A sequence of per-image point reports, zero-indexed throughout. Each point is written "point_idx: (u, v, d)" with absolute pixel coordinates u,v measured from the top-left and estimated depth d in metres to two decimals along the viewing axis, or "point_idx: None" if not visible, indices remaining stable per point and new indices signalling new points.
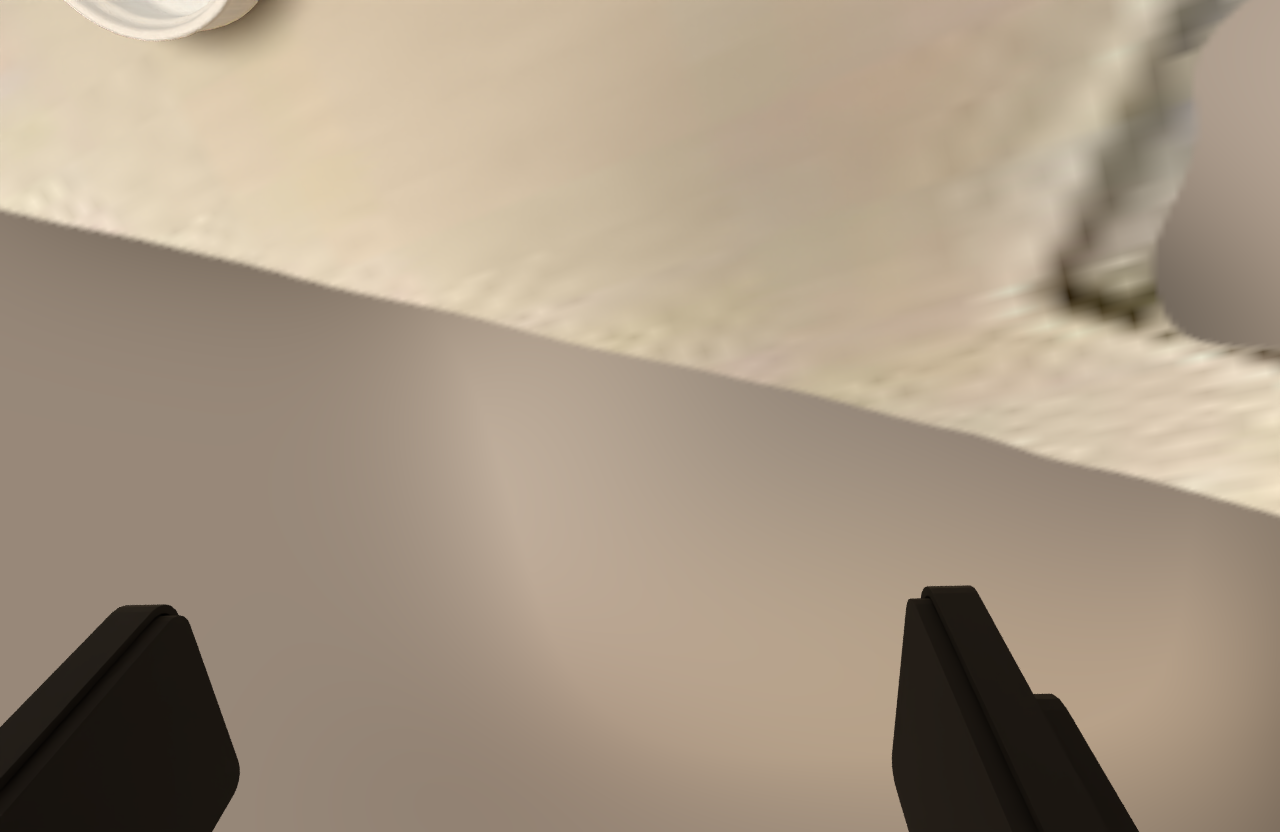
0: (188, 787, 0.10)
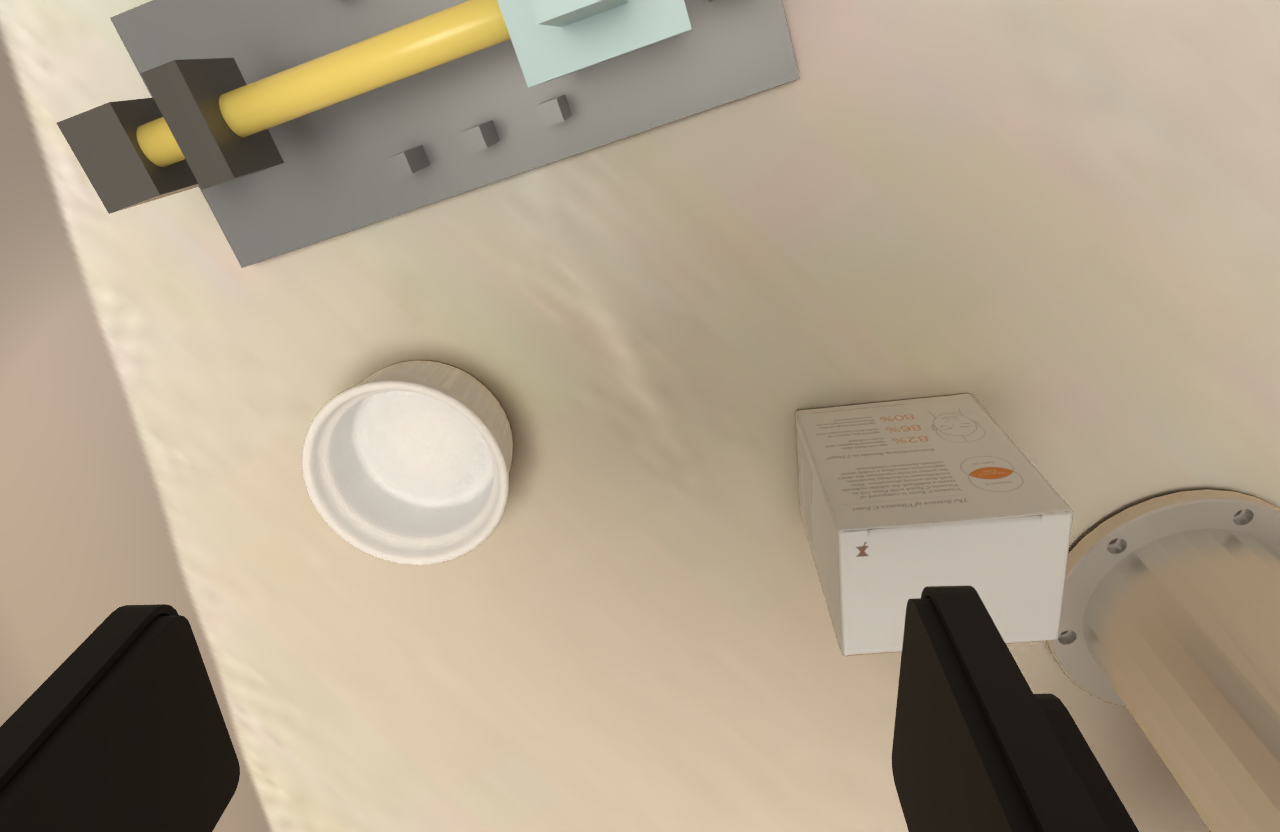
0: (188, 787, 0.10)
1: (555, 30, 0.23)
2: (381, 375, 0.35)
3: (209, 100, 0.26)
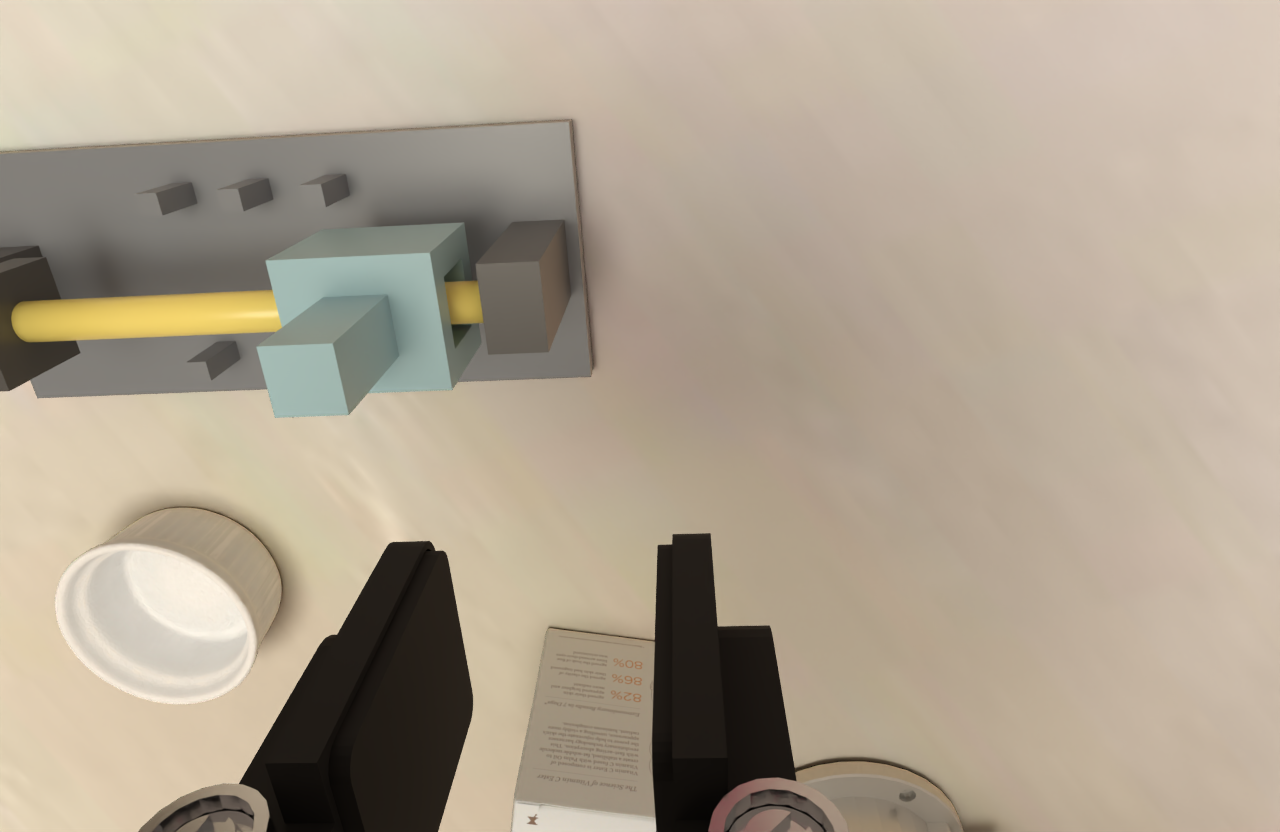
0: (450, 708, 0.11)
1: None
2: (156, 526, 0.37)
3: (0, 315, 0.27)
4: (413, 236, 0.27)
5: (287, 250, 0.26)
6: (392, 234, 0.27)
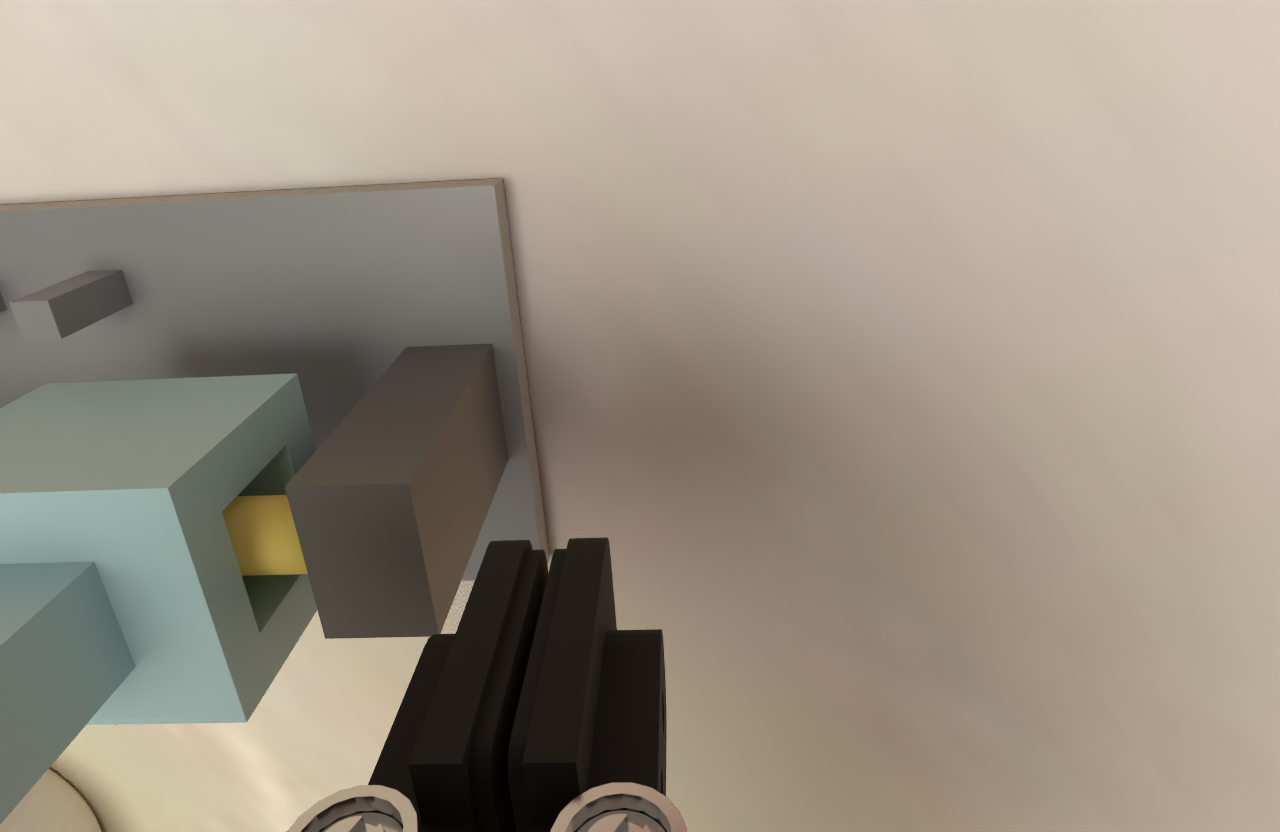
0: None
1: None
2: None
3: None
4: (180, 418, 0.14)
5: None
6: (148, 409, 0.14)
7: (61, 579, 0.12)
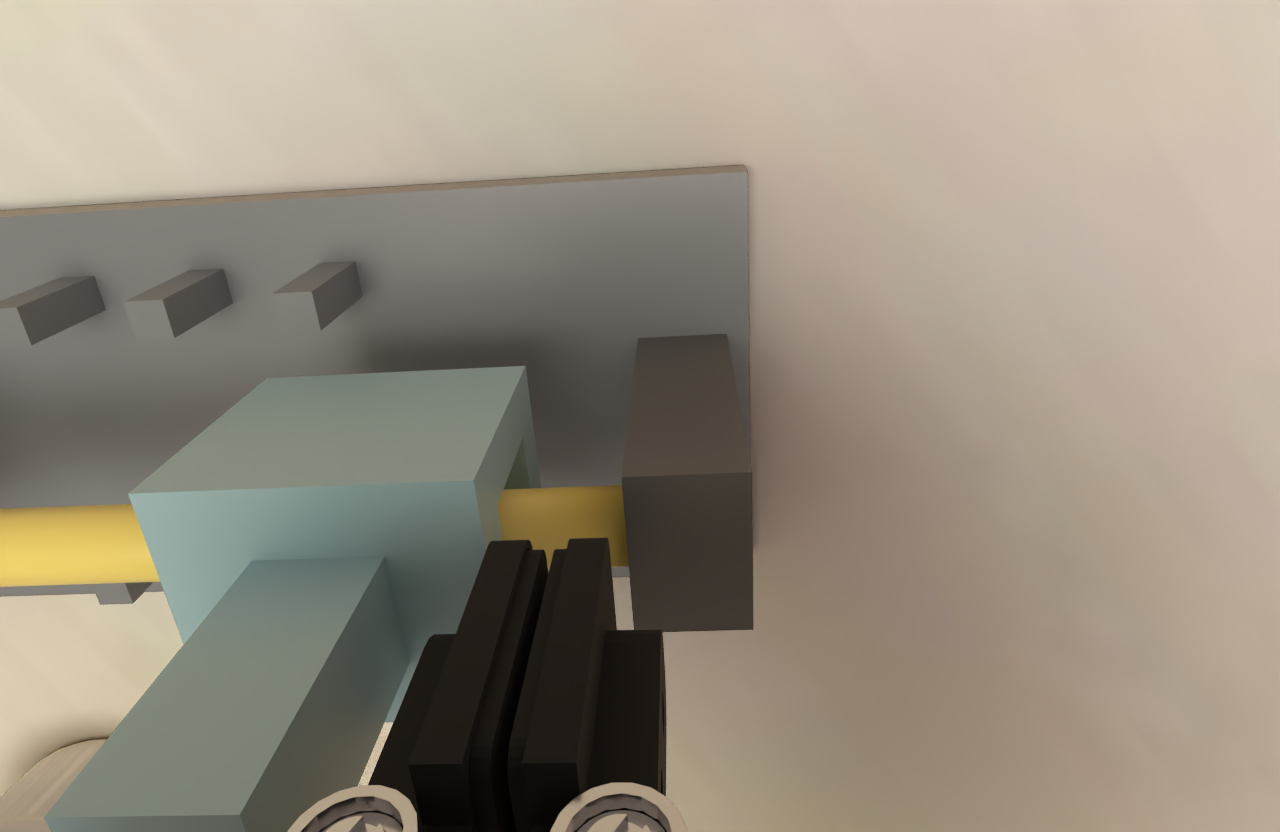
0: None
1: None
2: (64, 788, 0.24)
3: None
4: (434, 410, 0.14)
5: (184, 452, 0.13)
6: (394, 402, 0.14)
7: (361, 574, 0.12)
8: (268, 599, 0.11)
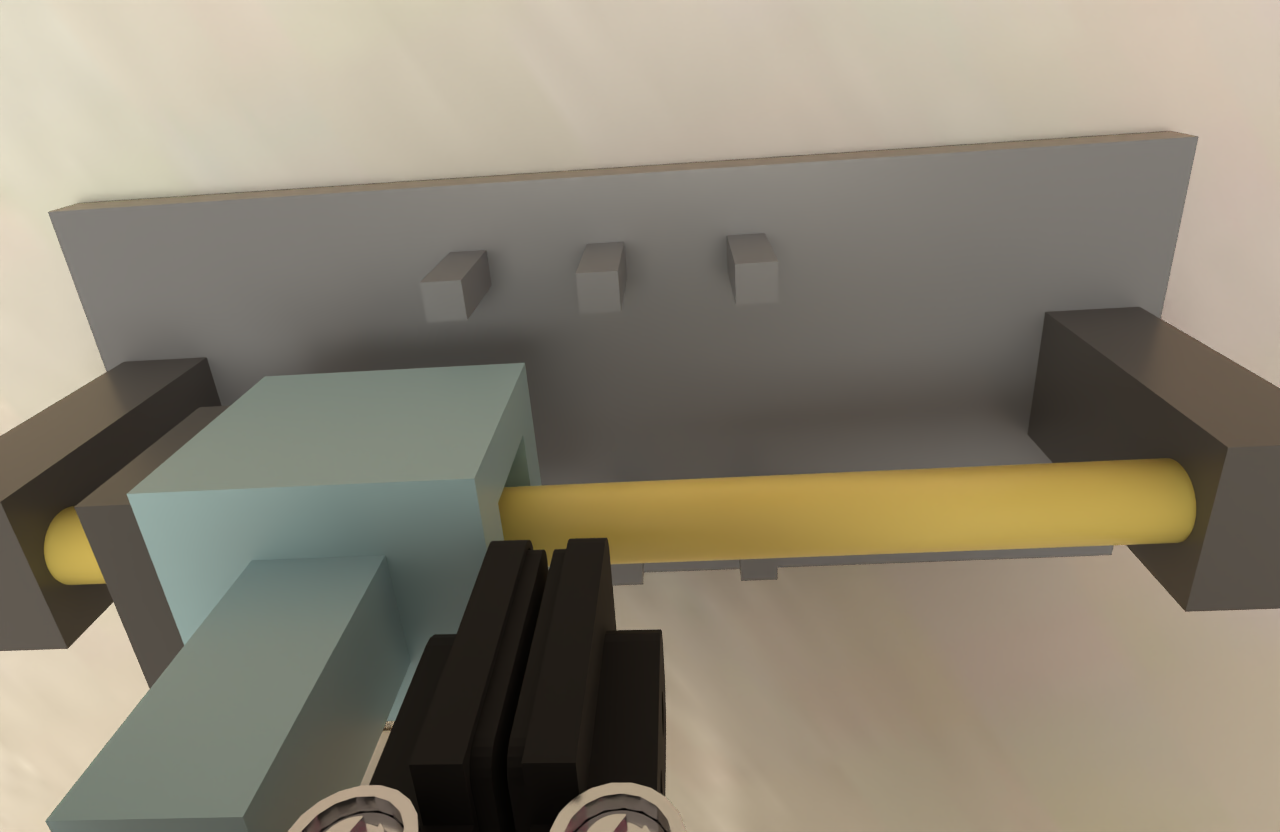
0: None
1: None
2: (369, 781, 0.23)
3: None
4: (434, 408, 0.14)
5: (183, 452, 0.13)
6: (393, 400, 0.14)
7: (361, 573, 0.12)
8: (269, 599, 0.11)
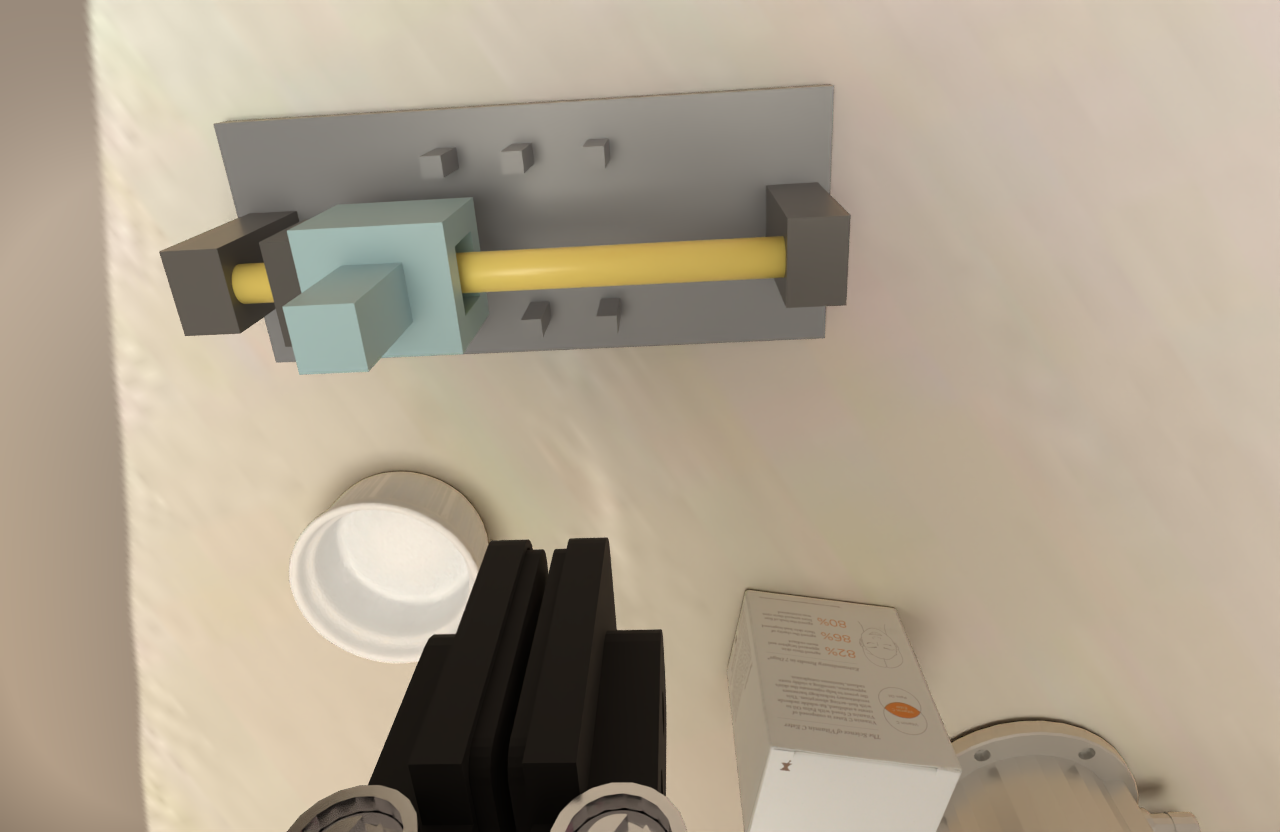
0: None
1: None
2: (385, 488, 0.37)
3: None
4: (425, 209, 0.28)
5: (306, 222, 0.27)
6: (405, 207, 0.28)
7: (391, 266, 0.26)
8: (351, 272, 0.26)
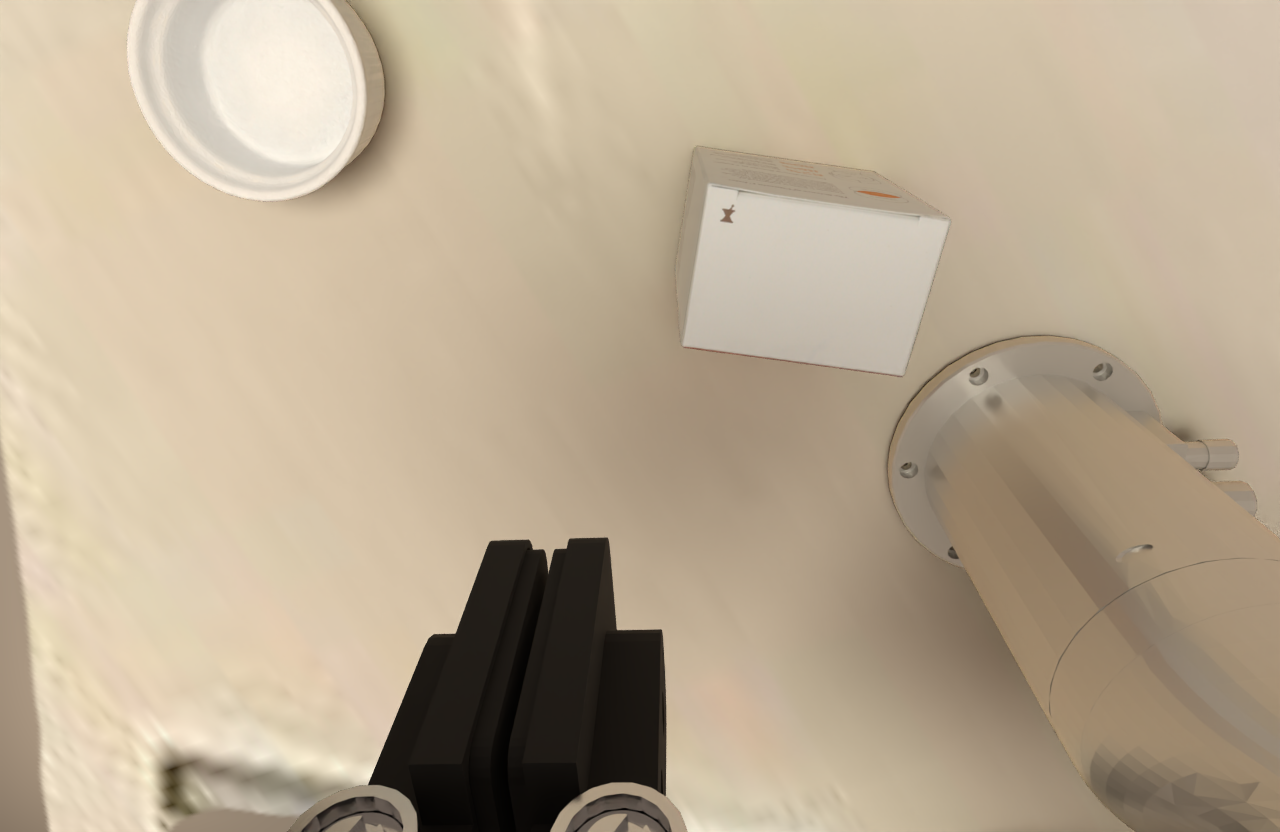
0: None
1: None
2: None
3: None
4: None
5: None
6: None
7: None
8: None
